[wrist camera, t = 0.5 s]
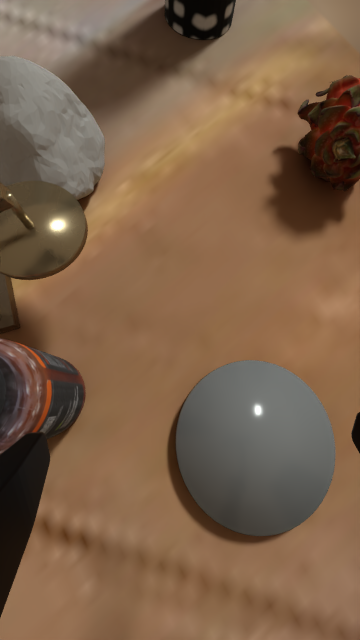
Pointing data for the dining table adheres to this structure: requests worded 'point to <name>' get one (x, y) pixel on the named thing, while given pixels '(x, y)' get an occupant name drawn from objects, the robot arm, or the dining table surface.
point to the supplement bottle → (36, 393)
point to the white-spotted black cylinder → (200, 17)
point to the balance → (35, 237)
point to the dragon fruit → (334, 133)
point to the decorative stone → (46, 130)
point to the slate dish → (255, 448)
